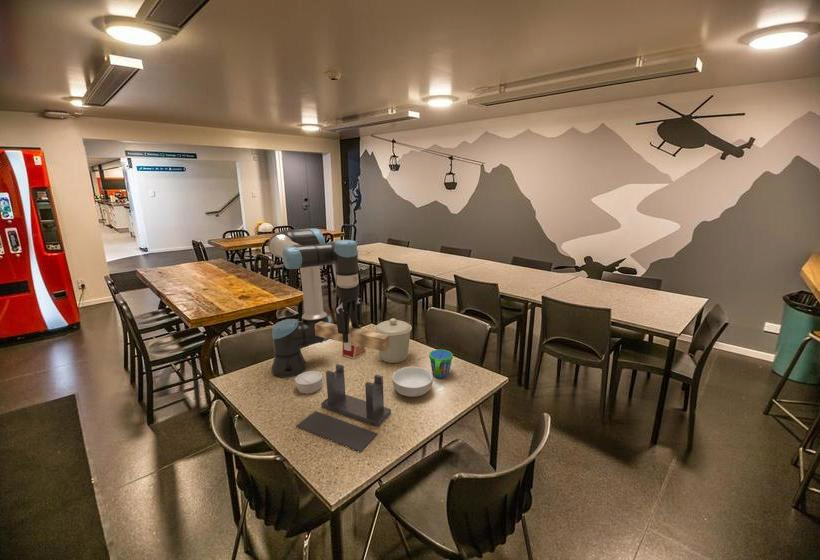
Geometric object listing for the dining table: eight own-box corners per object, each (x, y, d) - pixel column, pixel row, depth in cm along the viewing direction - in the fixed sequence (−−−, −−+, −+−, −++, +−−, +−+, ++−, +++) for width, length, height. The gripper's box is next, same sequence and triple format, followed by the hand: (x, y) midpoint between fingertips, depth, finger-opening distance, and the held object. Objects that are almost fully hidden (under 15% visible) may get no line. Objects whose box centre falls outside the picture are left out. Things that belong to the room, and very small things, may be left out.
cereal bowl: (384, 390, 155) (384, 374, 153) (414, 376, 165) (414, 362, 163) (410, 408, 142) (410, 391, 140) (441, 392, 152) (441, 377, 151)
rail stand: (321, 407, 143) (318, 371, 139) (336, 395, 151) (334, 361, 147) (378, 427, 131) (376, 388, 127) (391, 413, 139) (390, 376, 135)
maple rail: (315, 335, 138) (314, 324, 137) (321, 332, 141) (321, 321, 140) (383, 351, 124) (383, 339, 123) (389, 347, 127) (389, 335, 126)
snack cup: (435, 365, 176) (435, 345, 173) (456, 369, 172) (457, 349, 169) (423, 380, 162) (423, 359, 159) (446, 385, 158) (446, 364, 155)
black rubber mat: (296, 427, 131) (296, 425, 131) (315, 412, 140) (315, 410, 140) (360, 452, 119) (360, 451, 118) (377, 434, 127) (377, 433, 127)
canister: (369, 364, 177) (368, 323, 171) (383, 348, 193) (382, 310, 188) (405, 369, 171) (405, 327, 166) (416, 353, 188) (416, 314, 183)
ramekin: (291, 394, 152) (290, 383, 151) (302, 380, 163) (301, 369, 161) (317, 396, 150) (316, 385, 149) (327, 382, 161) (326, 371, 160)
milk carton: (366, 352, 189) (364, 315, 184) (354, 359, 182) (352, 321, 177) (352, 348, 194) (350, 312, 189) (340, 355, 186) (338, 318, 181)
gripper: (341, 292, 118) (345, 359, 124) (370, 280, 133) (372, 340, 139) (323, 290, 122) (328, 354, 128) (353, 278, 136) (356, 337, 142)
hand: (351, 347), depth 133 cm, fingers closed on maple rail, 4 cm apart
